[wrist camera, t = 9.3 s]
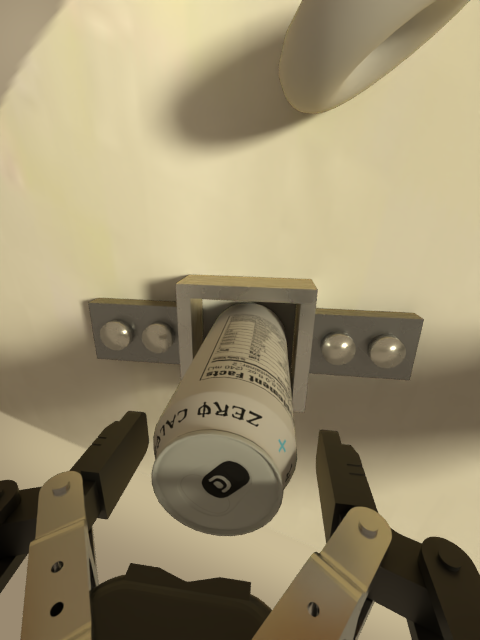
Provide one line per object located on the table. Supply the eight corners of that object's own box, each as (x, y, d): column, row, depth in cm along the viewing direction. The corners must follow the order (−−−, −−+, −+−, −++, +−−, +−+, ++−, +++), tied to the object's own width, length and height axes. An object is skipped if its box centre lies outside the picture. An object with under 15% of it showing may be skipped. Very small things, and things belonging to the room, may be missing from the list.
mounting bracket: (421, 283, 22) (447, 295, 19) (396, 394, 25) (414, 421, 22) (94, 270, 24) (66, 279, 21) (109, 373, 28) (87, 394, 24)
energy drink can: (199, 332, 25) (104, 479, 11) (248, 284, 23) (209, 385, 9) (249, 378, 26) (220, 567, 12) (300, 335, 24) (337, 499, 10)
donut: (423, -25, 16) (619, -346, 7) (445, 39, 17) (649, -173, 8) (267, 94, 19) (260, -26, 10) (293, 145, 20) (309, 80, 10)
